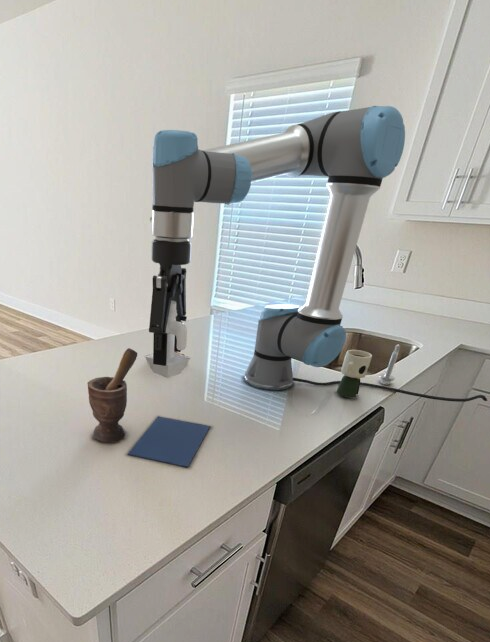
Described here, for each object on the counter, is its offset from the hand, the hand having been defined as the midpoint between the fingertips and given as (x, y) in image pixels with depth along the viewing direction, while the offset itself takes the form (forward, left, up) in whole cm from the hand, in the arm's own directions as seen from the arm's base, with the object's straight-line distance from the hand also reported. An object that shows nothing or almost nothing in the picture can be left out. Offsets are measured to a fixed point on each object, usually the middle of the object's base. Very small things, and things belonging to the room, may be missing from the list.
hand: (167, 357), depth 89 cm
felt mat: (-3, +3, -19) cm, 19 cm away
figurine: (0, 0, -4) cm, 4 cm away
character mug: (-44, -44, -19) cm, 65 cm away
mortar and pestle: (+11, +5, -19) cm, 23 cm away
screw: (-57, -60, -19) cm, 84 cm away
